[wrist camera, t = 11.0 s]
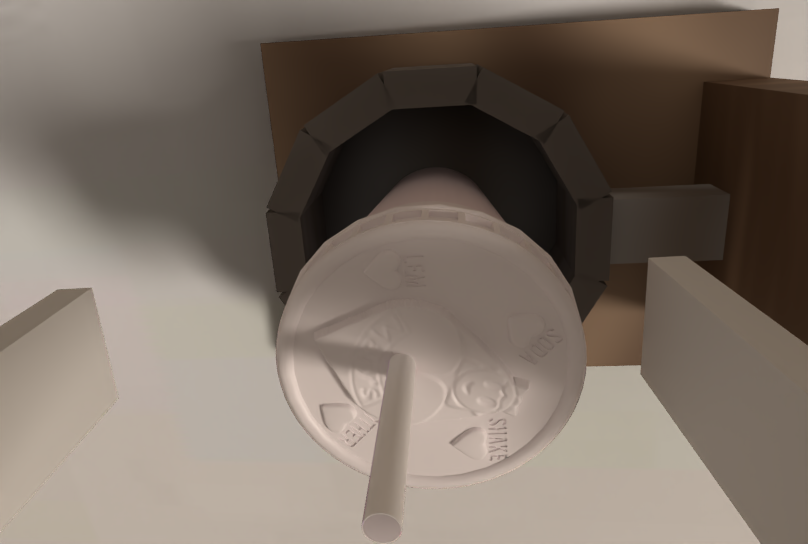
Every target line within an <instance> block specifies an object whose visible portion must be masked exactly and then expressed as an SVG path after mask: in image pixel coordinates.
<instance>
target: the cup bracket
mask: <svg viewBox="0 0 808 544" xmlns="http://www.w3.org/2000/svg"><path fill="white" fill-rule="evenodd" d="M778 13H779V8H776V9H761V10H747V11H732V12H717V13H702V14H688V15H673V16H658V17H644V18H629V19H614V20H599V21H585V22H570V23H555V24H540V25H526V26H511V27H496V28H482V29H467V30H452V31H437V32H423V33H408V34H393V35H378V36H364V37H349V38H334V39H320V40H305V41H290V42H275V43H261V44H260V45H261V52H262V60H263V68H264V75H265V83H266V91H267V98H268V106H269V113H270V121H271V129H272V136H273V144H274V151H275V159H276V167H277V174H278V182H277V184H276V187H275V189H274V191H273V194H272V196H271V198H270V201H269V203H268V205H267V208H269V209H270V210H269V211H268V212H267V213H266V218H267V225H268V232H269V239H270V246H271V253H272V260H273V268H274V275H275V282H276V289H277V292H282V293H281V295H280V296H279V298H280V299H281V300H282V302H283V303H284V304H285V305H286V303H287V300H288V298H289V296H290V293H291V291H292V289H293V287H294V284H295V282H296V280H297V277H298V275H299V273H300V271H301V269H302V268H303V267H304V266H305V265H306V263H307V262H308V261H309V260H310V259H311V258H312V256H313V255H314V254H315V253H316V252H317V250H318V249H319V248H320V247H321V246H322V244H323V243H324V242H325V241H327V240H328V239H330V238H331V237H333V236H334V235H336V234H337V233H339V232H340V231H342V230H343V229H345V228H346V227H348V226H349V225H351V224H352V223H354V222H355V221H357V220H359V219H362V218H365V217H367V216H368V215H369V214H370V213H371V212H372V210H373V209H374V208H375V207H376V206H377V205H378V204H379V203H380V202H381V201H382V199H383V198H384V197H385V196H386V195H387V194H388V193H389V192H390V191H391V190H392V189H393V187H394V186H395V185H396V184H397V183H398V182H399V181H400V180H401V179H403V178H404V177H406V176H407V175H409V174H411V173H413V172H415V171H417V170H420V169H424V168H431V167H442V168H448V169H452V170H455V171H458V172H460V173H462V174H464V175H465V176H467V177H469V178H470V179H471V180H472V181H473V182H474V183H475V184H476V185H477V186H478V187H479V188H480V189H481V191H482V192H483V193H484V195H485V196H486V197H487V199H488V200H489V201H490V203H491V204H492V205H493V207H494V208H495V209H496V210H497V212H498V213H499V214H500V216H501V217H502V218H503V220H504V221H505V222H506V223H507V224H509V225H511V226H514V227H516V228H518V229H520V230H521V231H522V232H523V233H525V234H526V235H527V236H528V237H529V238H530V239H532V240H533V241H534V242H535V243H536V244H537V245H539V246H540V247H541V248H542V249H543V250H544V251H546V252H547V253H548V254H549V255H550V256H551V257H552V259H553V260H554V262H555V263H556V265H557V266H558V268H559V269H560V271H561V272H562V274H563V275H564V277H565V278H566V280H567V282H568V283H569V285H570V286H571V288H572V291H573V294H574V298H575V301H576V305H577V308H578V312H579V315H580V318H581V322H582V327H583V331H584V335H585V342H586V353H587V363H586V366H624V365H641V360H642V345H643V331H644V316H645V301H646V286H647V272H648V258H653V257H672V256H686V257H688V258H689V259H690V260H692V261H693V262H694V263H696V264H697V265H699V266H700V267H701V268H703V269H704V270H705V271H707V272H708V273H710V274H711V275H712V276H714V277H715V278H716V279H718V280H719V281H720V282H722V283H723V284H725V285H726V286H727V287H729V288H730V289H731V290H733V291H734V292H735V293H737V294H738V295H740V296H741V297H742V298H744V299H745V300H746V301H748V302H749V303H750V304H752V305H753V306H755V307H756V308H757V309H759V310H760V311H761V312H763V313H764V314H765V315H767V316H768V317H770V318H771V319H772V320H774V321H775V322H776V323H778V324H779V325H780V326H782V327H783V328H785V329H786V330H787V331H789V332H790V333H791V334H793V335H794V336H795V337H797V338H798V339H800V340H801V341H802V342H804V343H805V344H806V345H808V81H802V80H790V79H779V78H770V74H771V67H772V59H773V51H774V44H775V36H776V29H777V21H778Z"/></svg>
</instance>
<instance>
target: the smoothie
mask: <svg viewBox="0 0 808 544" xmlns="http://www.w3.org/2000/svg"><path fill="white" fill-rule="evenodd" d="M276 363H277V371H278V376H279V380H280V384H281V388H282V390H283V393H284V396H285V398H286V401H287V403H288V405H289V407H290V409H291V411H292V412H293V414H294V416H295V417H296V419H297V420H298V422H299V423H300V425H301V426H302V427H303V428H304V430H305V431H306V432H307V433H308V434H309V436H310V437H311V438H312V439H313V440H314V441H315V442H316V443H317V444H318V445H319V446H320V447H322V448H323V449H324V450H325V451H326V452H328V453H329V454H330V455H331V456H333V457H334V458H335V459H337V460H339V461H340V462H342V463H343V464H345V465H346V466H348V467H350V468H352V469H354V470H356V471H358V472H360V473H362V474H365V475H367V476H369V477H370V478H369V484H368V491H367V497H366V503H365V509H364V515H363V521H362V532H363V534H364V535H365V536H366V538H368V539H369V540H371V541H372V542H375V543H379V544H388V543H392V542H394V541H396V540H397V539H398V538H399V537H400V535H401V533H402V525H403V513H404V501H405V489H406V487H412V488H424V489H445V488H456V487H463V486H469V485H473V484H478V483H482V482H485V481H488V480H491V479H494V478H497V477H499V476H502V475H504V474H506V473H508V472H510V471H512V470H514V469H516V468H518V467H520V466H521V465H523V464H525V463H526V462H528V461H530V460H531V459H532V458H533V457H535V456H536V455H537V454H539V453H540V452H541V451H542V450H543V449H545V448H546V447H547V446H548V445H549V444H550V443H551V442H552V441H553V440H554V439H555V437H556V436H557V435H558V434H559V433H560V432H561V430H562V429H563V427H564V426H565V425H566V423H567V422H568V420H569V418H570V417H571V415H572V413H573V412H574V409H575V407H576V405H577V403H578V400H579V398H580V395H581V391H582V388H583V384H584V379H585V374H586V363H587V353H586V342H585V335H584V331H583V327H582V322H581V318H580V315H579V312H578V308H577V305H576V301H575V298H574V294H573V291H572V288H571V286H570V285H569V283H568V282H567V280H566V278H565V277H564V275H563V274H562V272H561V271H560V269H559V268H558V266H557V265H556V263H555V262H554V260H553V259H552V257H551V256H550V255H549V254H548V253H547V252H546V251H544V250H543V249H542V248H541V247H540V246H539V245H537V244H536V243H535V242H534V241H533V240H532V239H530V238H529V237H528V236H527V235H526V234H525V233H523V232H522V231H521V230H520V229H518V228H516V227H514V226H511V225H509V224H507V223H506V222H505V221H504V220H503V218H502V217H501V216H500V214H499V213H498V212H497V210H496V209H495V208H494V207H493V205H492V204H491V203H490V201H489V200H488V199H487V197H486V196H485V195H484V193H483V192H482V191H481V189H480V188H479V187H478V186H477V185H476V184H475V183H474V182H473V181H472V180H471V179H470V178H469V177H467V176H465V175H464V174H462V173H460V172H458V171H455V170H452V169H448V168H442V167H431V168H424V169H420V170H417V171H415V172H413V173H411V174H409V175H407V176H406V177H404V178H403V179H401V180H400V181H399V182H398V183H397V184H396V185H395V186H394V187H393V189H392V190H391V191H390V192H389V193H388V194H387V195H386V196H385V197H384V198H383V199H382V201H381V202H380V203H379V204H378V205H377V206H376V207H375V208H374V209H373V210H372V212H371V213H370V214H369V215H368V216H367V217H365V218H362V219H359V220H357V221H355V222H354V223H352V224H351V225H349V226H348V227H346V228H345V229H343V230H342V231H340V232H339V233H337V234H336V235H334V236H333V237H331V238H330V239H328V240H327V241H325V242H324V243H323V244H322V246H321V247H320V248H319V249H318V250H317V252H316V253H315V254H314V255H313V256H312V258H311V259H310V260H309V261H308V262H307V263H306V265H305V266H304V267H303V268H302V269H301V271H300V273H299V275H298V277H297V280H296V282H295V284H294V287H293V289H292V291H291V293H290V296H289V298H288V300H287V303H286V305H285V308H284V310H283V313H282V316H281V319H280V323H279V328H278V333H277V341H276Z"/></svg>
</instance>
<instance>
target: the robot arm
mask: <svg viewBox="0 0 808 544" xmlns="http://www.w3.org/2000/svg"><path fill="white" fill-rule="evenodd" d="M641 375H642V377H643V378H644V380H645V381H646V382H647V384H648V385H649V387H650V388H651V390H652V391H653V392H654V394H655V395H656V397H657V398H658V399H659V401H660V402H661V404H662V405H663V406H664V408H665V409H666V411H667V412H668V413H669V415H670V416H671V418H672V419H673V420H674V422H675V423H676V425H677V426H678V428H679V429H680V430H681V432H682V433H683V435H684V436H685V437H686V439H687V440H688V442H689V443H690V444H691V446H692V447H693V449H694V450H695V451H696V453H697V454H698V456H699V457H700V459H701V460H702V461H703V463H704V464H705V466H706V467H707V468H708V470H709V471H710V473H711V474H712V475H713V477H714V478H715V480H716V481H717V482H718V484H719V485H720V487H721V488H722V489H723V491H724V492H725V494H726V495H727V497H728V498H729V499H730V501H731V502H732V504H733V505H734V506H735V508H736V509H737V511H738V512H739V513H740V515H741V516H742V518H743V519H744V520H745V522H746V523H747V525H748V526H749V528H750V529H751V530H752V532H753V533H754V535H755V536H756V537H757V539H758V540H759V542H760V543H761V544H808V345H806V344H805V343H804V342H802V341H801V340H800V339H798V338H797V337H795V336H794V335H793V334H791V333H790V332H789V331H787V330H786V329H785V328H783V327H782V326H780V325H779V324H778V323H776V322H775V321H774V320H772V319H771V318H770V317H768V316H767V315H765V314H764V313H763V312H761V311H760V310H759V309H757V308H756V307H755V306H753V305H752V304H750V303H749V302H748V301H746V300H745V299H744V298H742V297H741V296H740V295H738V294H737V293H735V292H734V291H733V290H731V289H730V288H729V287H727V286H726V285H725V284H723V283H722V282H720V281H719V280H718V279H716V278H715V277H714V276H712V275H711V274H710V273H708V272H707V271H705V270H704V269H703V268H701V267H700V266H699V265H697V264H696V263H694V262H693V261H692V260H690V259H689V258H688V257H686V256H672V257H653V258H648V272H647V286H646V301H645V316H644V331H643V345H642V360H641ZM118 399H119V397H118V393H117V389H116V385H115V381H114V377H113V373H112V369H111V364H110V360H109V356H108V352H107V348H106V344H105V340H104V336H103V332H102V327H101V323H100V319H99V315H98V311H97V307H96V303H95V299H94V295H93V291H92V288H78V289H59V290H56V291H55V292H53V293H52V294H50V295H48V296H47V297H45V298H44V299H42V300H41V301H39V302H38V303H36V304H34V305H33V306H31V307H30V308H28V309H27V310H25V311H24V312H22V313H20V314H19V315H17V316H16V317H14V318H13V319H11V320H9V321H8V322H6V323H5V324H3V325H2V326H0V533H1V532H2V530H3V529H4V528H5V527H6V526H7V525H8V524H9V523H10V521H11V520H12V519H13V518H14V517H15V516H16V515H17V513H18V512H19V511H20V510H21V509H22V508H23V507H24V505H25V504H26V503H27V502H28V501H29V500H30V499H31V498H32V496H33V495H34V494H35V493H36V492H37V491H38V490H39V488H40V487H41V486H42V485H43V484H44V483H45V482H46V480H47V479H48V478H49V477H50V476H51V475H52V474H53V473H54V471H55V470H56V469H57V468H58V467H59V466H60V465H61V463H62V462H63V461H64V460H65V459H66V458H67V457H68V455H69V454H70V453H71V452H72V451H73V450H74V449H75V447H76V446H77V445H78V444H79V443H80V442H81V441H82V440H83V438H84V437H85V436H86V435H87V434H88V433H89V432H90V430H91V429H92V428H93V427H94V426H95V425H96V424H97V422H98V421H99V420H100V419H101V418H102V417H103V416H104V415H105V413H106V412H107V411H108V410H109V409H110V408H111V407H112V405H113V404H114V403H115V402H116V401H117V400H118Z"/></svg>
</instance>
